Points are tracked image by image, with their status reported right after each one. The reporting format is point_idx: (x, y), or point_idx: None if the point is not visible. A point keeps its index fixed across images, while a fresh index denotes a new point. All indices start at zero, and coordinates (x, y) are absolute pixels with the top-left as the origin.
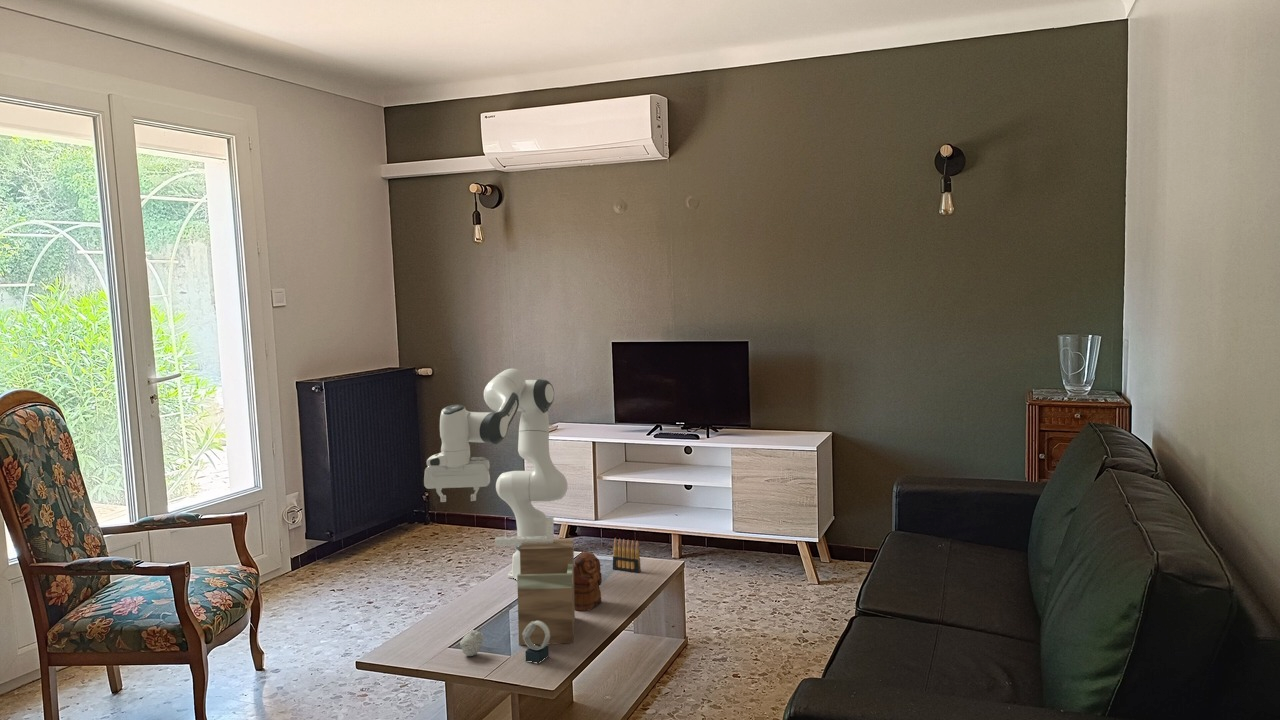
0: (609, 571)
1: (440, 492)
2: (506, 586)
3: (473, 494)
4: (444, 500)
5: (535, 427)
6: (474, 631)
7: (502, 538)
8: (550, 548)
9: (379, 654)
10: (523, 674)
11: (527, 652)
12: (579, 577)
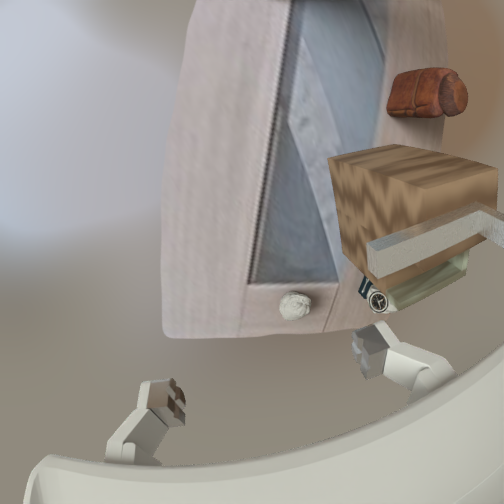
0: None
1: (145, 442)
2: (235, 15)
3: (383, 355)
4: (182, 404)
5: None
6: (303, 312)
7: (396, 259)
8: (469, 248)
9: (167, 323)
10: (359, 316)
11: (365, 298)
12: (432, 117)
